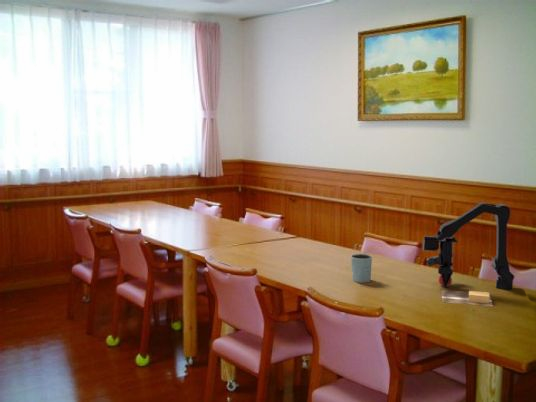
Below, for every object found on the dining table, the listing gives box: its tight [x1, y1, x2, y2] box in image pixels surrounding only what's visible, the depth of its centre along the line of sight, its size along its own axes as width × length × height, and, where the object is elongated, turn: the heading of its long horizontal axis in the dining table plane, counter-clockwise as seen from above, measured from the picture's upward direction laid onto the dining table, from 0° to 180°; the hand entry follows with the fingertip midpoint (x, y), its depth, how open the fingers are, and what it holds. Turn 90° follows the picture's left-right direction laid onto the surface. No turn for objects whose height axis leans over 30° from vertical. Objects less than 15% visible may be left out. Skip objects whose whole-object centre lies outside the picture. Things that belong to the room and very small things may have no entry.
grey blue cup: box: [350, 253, 373, 284], centre depth 285 cm, size 10×10×12 cm
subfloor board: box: [441, 289, 493, 307], centre depth 253 cm, size 20×18×2 cm
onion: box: [438, 274, 453, 288], centre depth 270 cm, size 6×6×8 cm
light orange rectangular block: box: [468, 290, 490, 303], centre depth 248 cm, size 8×6×3 cm
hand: (445, 284), depth 270 cm, fingers closed on onion, 6 cm apart
